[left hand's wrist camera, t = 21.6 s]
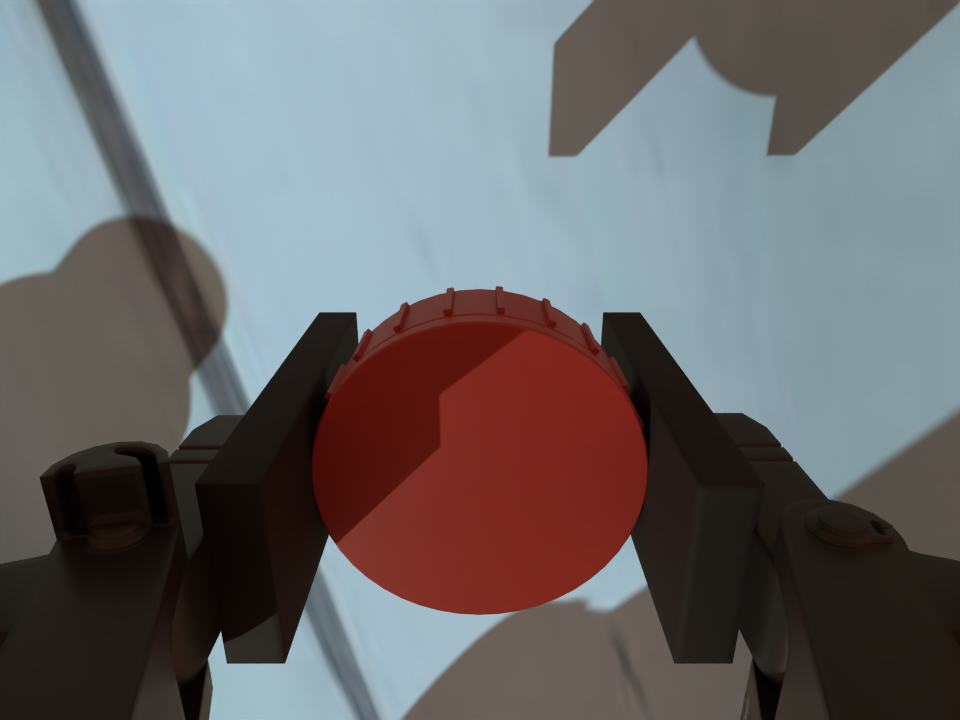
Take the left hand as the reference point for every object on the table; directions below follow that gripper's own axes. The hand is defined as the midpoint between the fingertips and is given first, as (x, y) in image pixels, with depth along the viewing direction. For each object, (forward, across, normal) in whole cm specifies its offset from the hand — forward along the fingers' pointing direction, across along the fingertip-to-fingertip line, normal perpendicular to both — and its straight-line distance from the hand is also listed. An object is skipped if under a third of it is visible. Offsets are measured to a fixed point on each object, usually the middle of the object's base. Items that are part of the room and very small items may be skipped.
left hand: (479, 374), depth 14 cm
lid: (-4, 0, 0) cm, 4 cm away
